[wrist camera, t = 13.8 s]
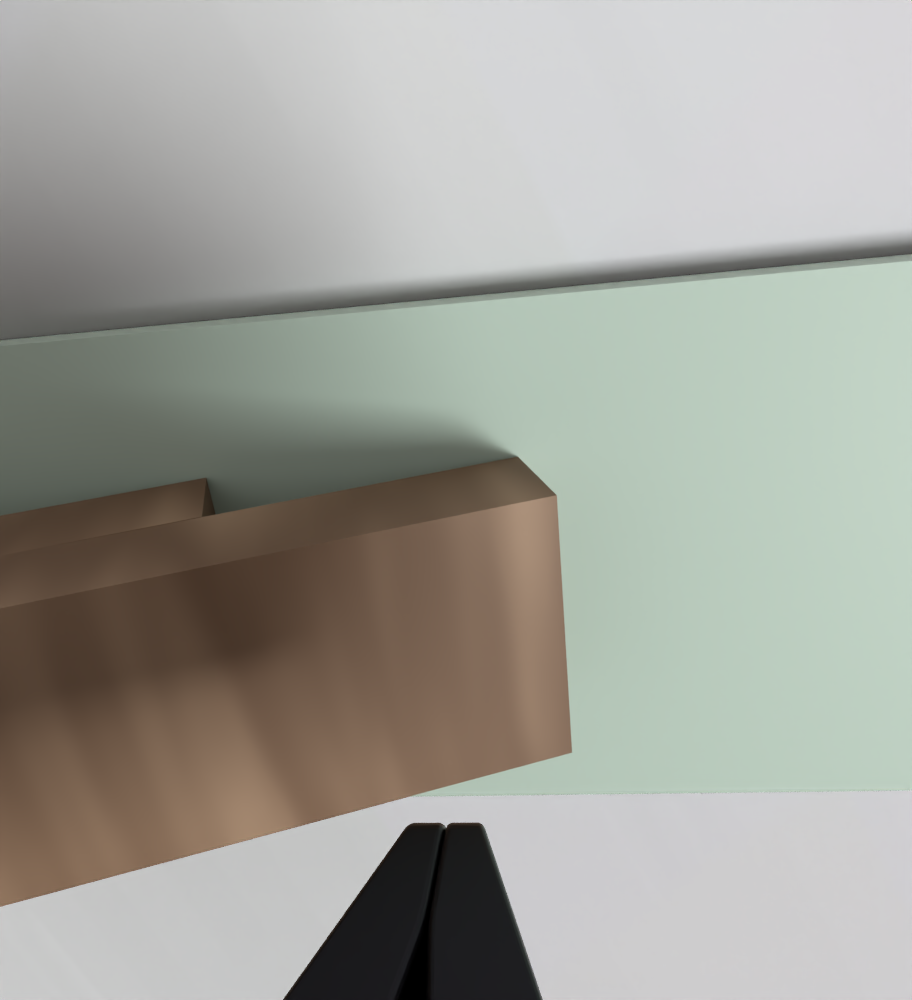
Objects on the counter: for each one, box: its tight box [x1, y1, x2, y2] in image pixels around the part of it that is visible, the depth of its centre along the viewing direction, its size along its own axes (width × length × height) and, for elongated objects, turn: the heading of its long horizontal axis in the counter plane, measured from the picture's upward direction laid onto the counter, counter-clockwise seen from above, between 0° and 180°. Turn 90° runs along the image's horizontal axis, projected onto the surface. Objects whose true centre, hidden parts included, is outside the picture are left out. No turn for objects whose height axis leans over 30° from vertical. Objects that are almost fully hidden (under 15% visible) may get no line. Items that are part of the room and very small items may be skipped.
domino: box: [0, 457, 572, 907], centre depth 12 cm, size 2×5×10 cm
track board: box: [0, 254, 912, 797], centre depth 15 cm, size 10×34×1 cm, turn 96°
